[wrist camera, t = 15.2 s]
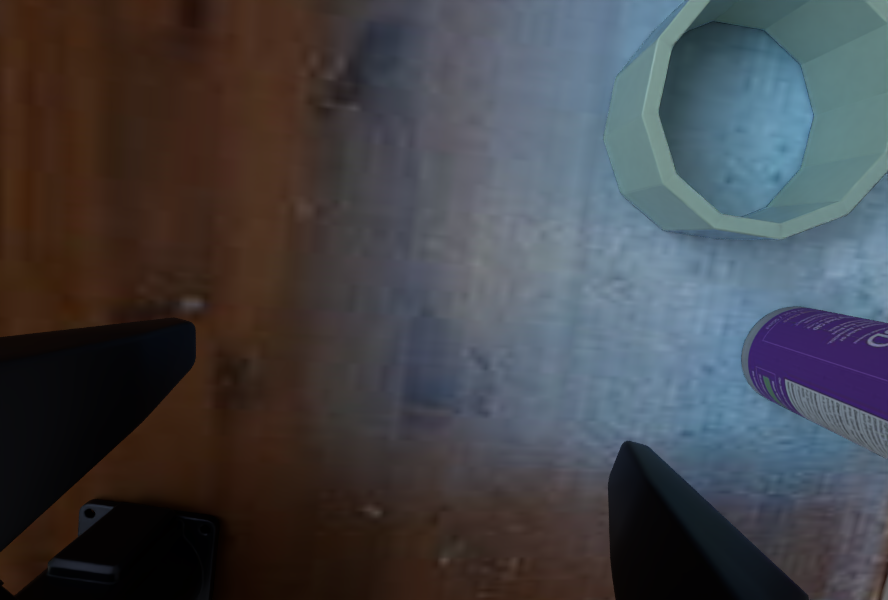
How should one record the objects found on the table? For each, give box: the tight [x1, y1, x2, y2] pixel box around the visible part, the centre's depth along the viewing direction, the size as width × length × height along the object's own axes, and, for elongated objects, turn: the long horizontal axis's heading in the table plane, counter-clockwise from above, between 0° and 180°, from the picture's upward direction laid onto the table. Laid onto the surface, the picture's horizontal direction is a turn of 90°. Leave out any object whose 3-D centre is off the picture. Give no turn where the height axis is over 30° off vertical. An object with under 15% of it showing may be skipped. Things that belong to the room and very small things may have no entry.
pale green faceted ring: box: [603, 0, 888, 240], centre depth 18 cm, size 10×10×4 cm
